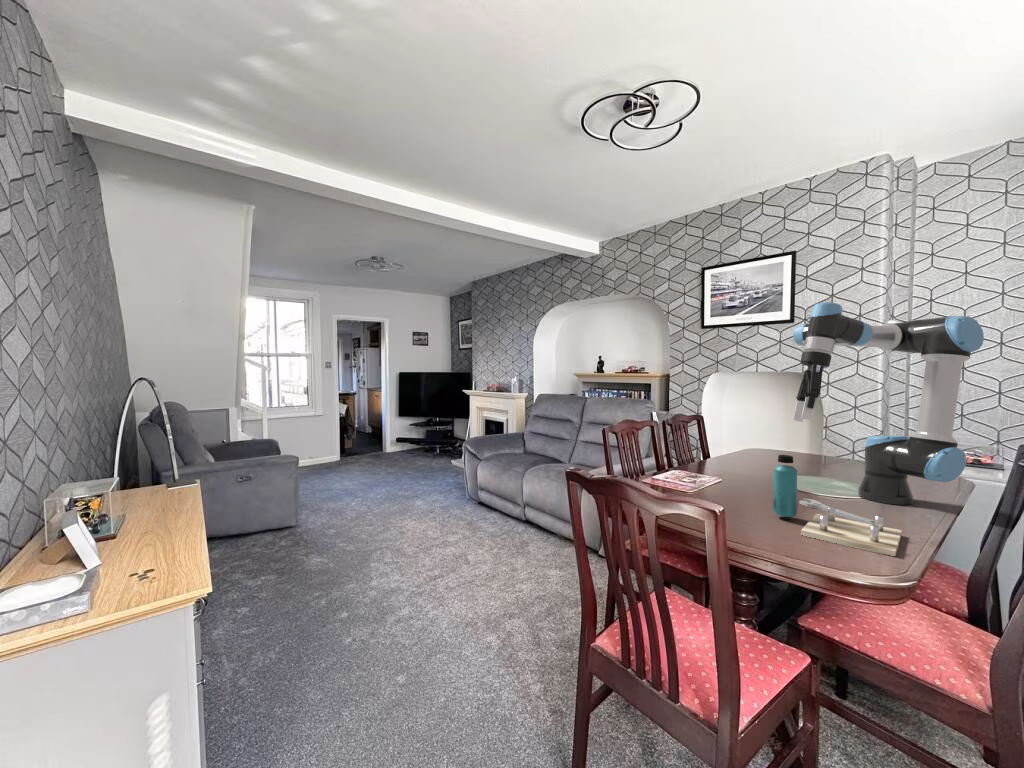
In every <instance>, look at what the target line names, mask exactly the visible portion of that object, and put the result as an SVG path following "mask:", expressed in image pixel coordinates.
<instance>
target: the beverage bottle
mask: <svg viewBox="0 0 1024 768" xmlns="http://www.w3.org/2000/svg"><path fill="white" fill-rule="evenodd" d="M777 462H778V463H782V464H778V465H776V466H775V467H774V468H773V470H774V471H773V495H772V496H773V502H772V507H773V508H772V509H773V512H774V514H776V515H777V516H780V517H786V518H793V517H797V516H798V515H797V514H798V469H796V468H795V467H794V466H792V465H788V464H794V456H793V455H789V454H778V458H777ZM786 464H787V465H786Z"/></svg>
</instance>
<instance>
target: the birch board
mask: <svg viewBox="0 0 1024 768" xmlns="http://www.w3.org/2000/svg"><path fill="white" fill-rule="evenodd" d="M820 515H821V514H819V513H816V514H814V516H812V518H811V519H810V520H809V521H808V522H807V523H806V524H805V526H803V528H802V529H801V530H800V536H801V535H803V536H802V537H806V536H807V538H810V537H811V539H814V538H816V539H815V540H819V539H820V541H823V540H824V541H823V542H827V541H828V543H832V544H836V543H837V544H836V545H841V546H846V547H849V548H853V547H854V549H858V550H862V551H863V550H864V551H867V552H870V553H871V552H872V553H876V554H879V553H880V555H884V554H886V555H885V556H888V555H890V557H892V556H897V553H898V550H897V549H899V546H900V543H901V538H902V534H903V533H902V532H903V531H902V530H901V529H897V528H891V527H887V526H883V532H880V531H879V542H878V543H876V542H872V541H870V525H871V524H866V523H861V522H858V521H854V520H851V519H847V518H841V517H836V516H835V522H831V521H828V531H821V530H820ZM899 542H900V543H899Z"/></svg>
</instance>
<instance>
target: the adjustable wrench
mask: <svg viewBox="0 0 1024 768" xmlns="http://www.w3.org/2000/svg"><path fill="white" fill-rule="evenodd" d="M800 504H802V505H805V506H807V507H811V508H810V509H815V508H819V509H818V510H820V509H822V510H821V511H824V510H825V511H824V512H827V511H828V507H830V506H829V505H827V504H824V503H821V502H820V501H818V500H816V499H810V498H802V500H801V499H800V500H799V505H800ZM802 505H801V506H802ZM805 506H804V507H805ZM807 507H806V508H807ZM812 507H814V508H812ZM836 514H837V516H839V515H840V517H842V516H843V517H842V518H844V519H847V520H851V519H852V520H851V521H854V520H855V521H856V522H861V523H866V524H871V525H875V520H873V519H870V518H867V517H864V516H860V515H857V514H854V513H850V512H847V511H844V510H841V509H839V508H835V515H836Z"/></svg>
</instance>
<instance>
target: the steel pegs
mask: <svg viewBox="0 0 1024 768" xmlns="http://www.w3.org/2000/svg"><path fill="white" fill-rule="evenodd" d="M835 509H836V507H833V506H829V507H828V512H827V515H825V514H820V530H821V531H828V521H831V522H835V517H836V514H835ZM874 517H875V518H874V521H875V525H870V541H872V542H876V543H878V542H879V531H880V532H883V527H884V522H885V521H884V519H885V518H884V516H883V515H879V514H877V515H875V516H874Z"/></svg>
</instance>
